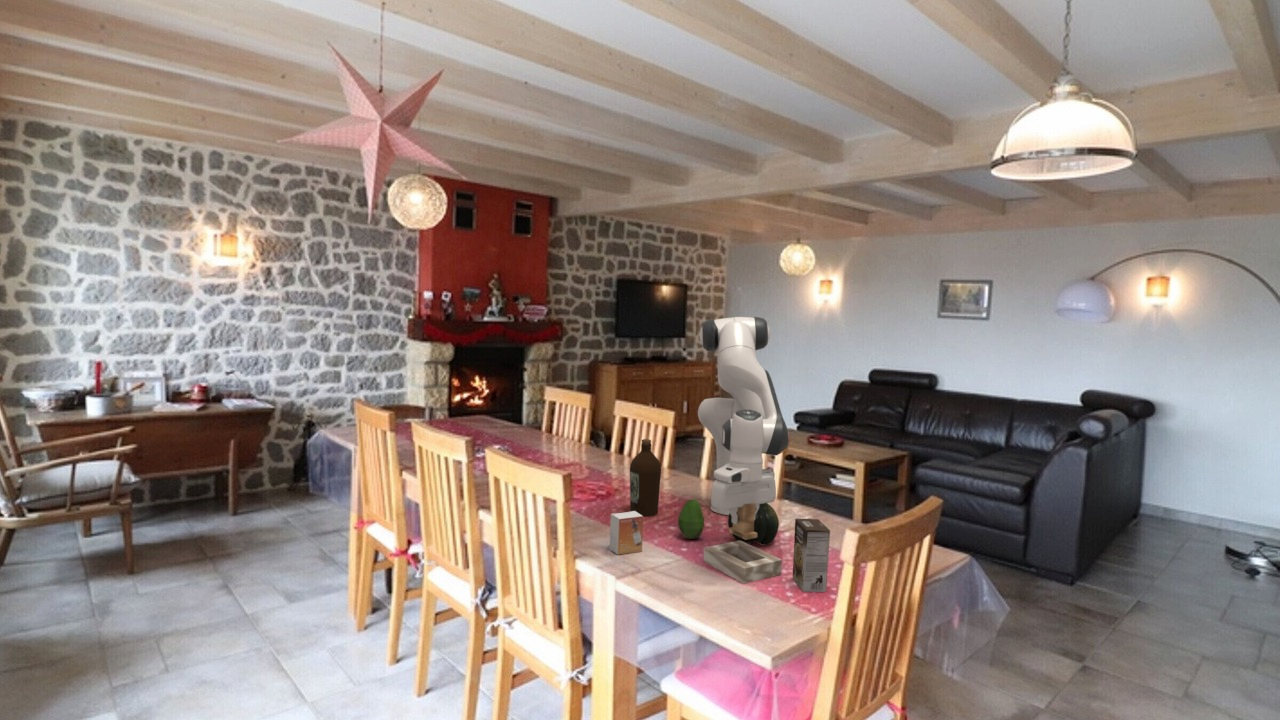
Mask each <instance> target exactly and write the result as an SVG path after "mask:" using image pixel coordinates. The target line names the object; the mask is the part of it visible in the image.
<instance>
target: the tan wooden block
mask: <svg viewBox="0 0 1280 720" xmlns="http://www.w3.org/2000/svg"><path fill="white" fill-rule="evenodd" d="M736 514H737V516H739V517H740V523H737V524H734V523H733V527H731V528H729V527H728V533H730V534H731V533H732V534H734V535H736V536H738V537H741V538H743V539H745V540H747V539H753V538H757V533H756V532H754V514H755V503H751V504H745V505H743V507H739V508H738V511H737V512H736ZM732 534H731V535H732Z"/></svg>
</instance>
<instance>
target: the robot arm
mask: <svg viewBox="0 0 1280 720" xmlns="http://www.w3.org/2000/svg"><path fill="white" fill-rule="evenodd" d="M701 325H702V326H701V328H700V329H699V330H700V331H699V341H700V343H701V345H702V348H703V349H704V350H705V351H707V352H711V353H715V352H717V359H716V360H717V361H716V362H717V382H718V384H719V387H720V388H721V390H723V391H724V392H727V393H728V394H730V395H731V396H732V397H733V398H729V397H728V398H727V397H710V398H704V399H703V400H702V401H701V402H700V404H699V407H698V409H697V417H698V420H699V422H700V423H701V425H702V426H703V427H704V428H705V429H706V430H707V431H709V434H710V435H711V437H712V439H713V441H714V443H715V448H716V468H715V470H714V472H713V478H714V481H713V483H712V487H711V496H710V503H711V504H710V508H709V509H710V510H711V511H712V512H715V513H717V514H720V515H725V516H729V513H730V514H731V516H732V523H734V524H737V523H740V517H739V516H737V514H736V512H737V511H738V508H739V507H743V505H745V504H751V503H755V514H754V520H755V515H756V513H757V511H758V509H759V504H763V503H767V504H769V505H770V506H771V507H772V508H773V509H774V507H773V505H772V504H770V503H773V502H775V500H776V499H777V488H776V486H777V485H776V479H775V476H776V475H775V471H774V470H773V469H772V468H769V467H768V468H763V467H764V466H763V463H764V458H763V455H762V454H764V455H768V456H769V455H770V456H779V455H780V454H782V453H783V452H784V451H785V450H786V449H788V447H789V442H790V433H789V430H788V427H787V423H786V422H785V419H784V417H783V414H782V411H781V407H780V404H779V399H778V396H777V393H776V389H775V386H774V384H773V380H772V377H771V375H770V373H769V371H768V370H766V369H765V368H763V366H761V364H760V362H759V361H758V359H757V355H756V352H757V351H759V350H763V349H764V348H766V347H767V345H768V343H769V342H770V341H769V340H770V337H771V330H770V329H771V328H770V327H769V324H768V322H767V320H766V319H765V318H763V317H759V316H754V317H750V316H749V317H748V316H734V317H724V318H717V319H714V318H712V319H708V320H705V321H703V323H702V324H701Z"/></svg>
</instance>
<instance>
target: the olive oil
mask: <svg viewBox="0 0 1280 720" xmlns="http://www.w3.org/2000/svg"><path fill="white" fill-rule="evenodd" d="M640 449H641V450H640V451H639V452H638V454H637V455H636V456H634V458H632V460H631V462H630V466H629V490H630V491H629V492H630V493H629V496H630V497H629V499H630V503H629V505H630V506H629V512H632V511H636V512H637V513H639V514H641V515H642V516H643V518H645V517H646V518H647V517H654V516H656V515H657V514H658V513H659V503H660V502H659V501H660V500H659V499H660V488H661V487H660V486H661V478H662V477H661V476H662V465H661V462H660V460H659V459H658V458H657V456H656V455H655V454H654V453H653V452H652V440H651V439H648V438H647V439H646V438H644V439H641V447H640Z"/></svg>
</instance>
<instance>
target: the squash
mask: <svg viewBox="0 0 1280 720" xmlns="http://www.w3.org/2000/svg"><path fill="white" fill-rule="evenodd" d="M769 504H770V503H768V504H767V503H763V504H759V509H758V511H757V513H756V515H755V520H754V532H756V533H757V538H753V539H747V540H745V539H743V538H741V537H738V536H736V535H734V534H732V533H730V534H731V535H732V536H731V537H733V539H735V541H739V540H740V541H743V542H745V543H747V544H754V543H758V544H759V545H762V546H768V545H771V544H772V542H773V541H774V540H775V538H776V536H777V534H778V532H779V528H780V527H779V525H780V522H779V521H780V520H779V517H778V514H777V512H776V511H775V508H774V507H773V506H772V507H773V508H772V507H771V506H770V505H771V504H770V505H769ZM727 526H728V529H729V528H731V527H733V523H732V516H731V514H730V513H729V515H728V518H727Z"/></svg>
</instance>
